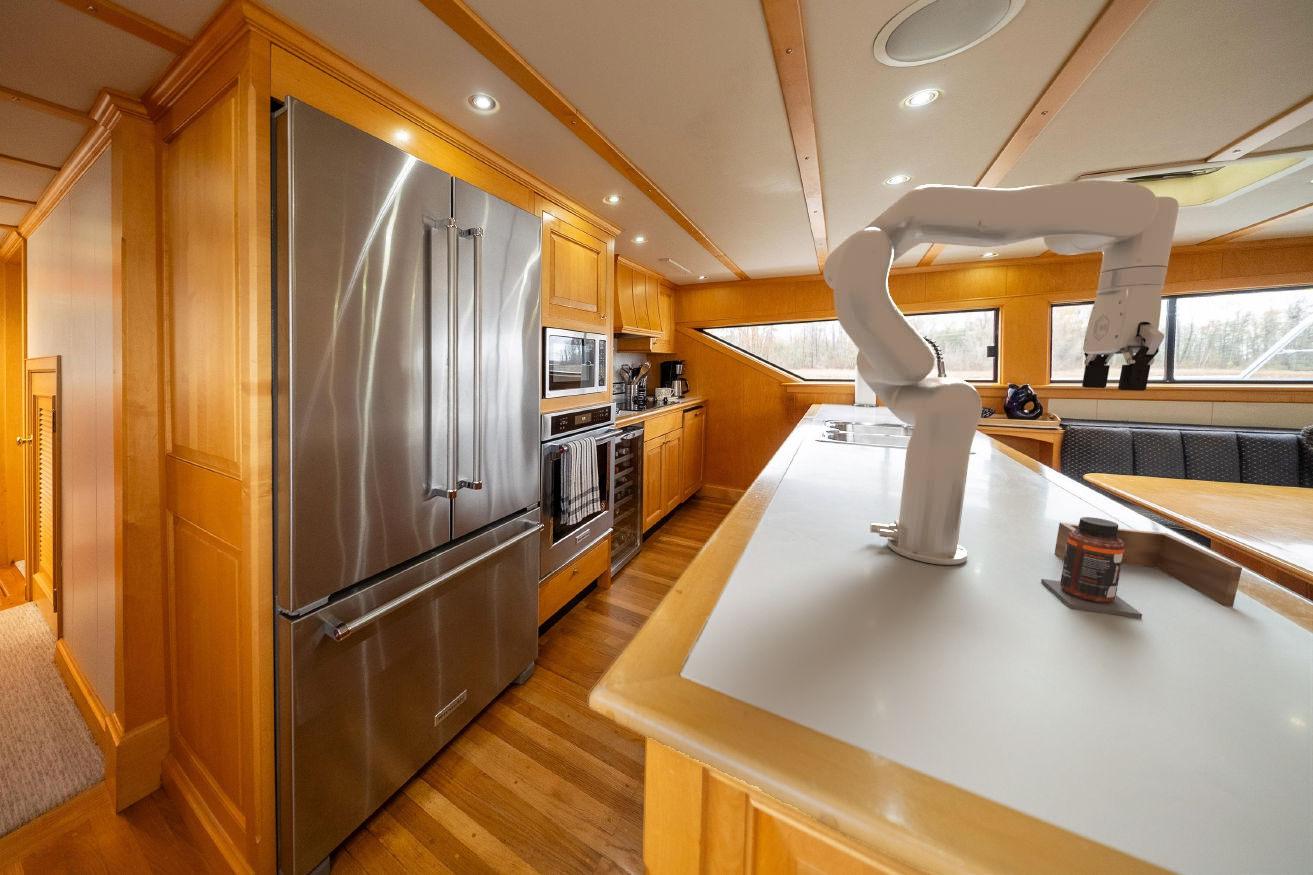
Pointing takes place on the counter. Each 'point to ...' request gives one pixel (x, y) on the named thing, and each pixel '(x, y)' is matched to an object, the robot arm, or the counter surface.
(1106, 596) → the supplement bottle
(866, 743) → the counter surface
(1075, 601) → the mat
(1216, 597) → the angled wooden boards
